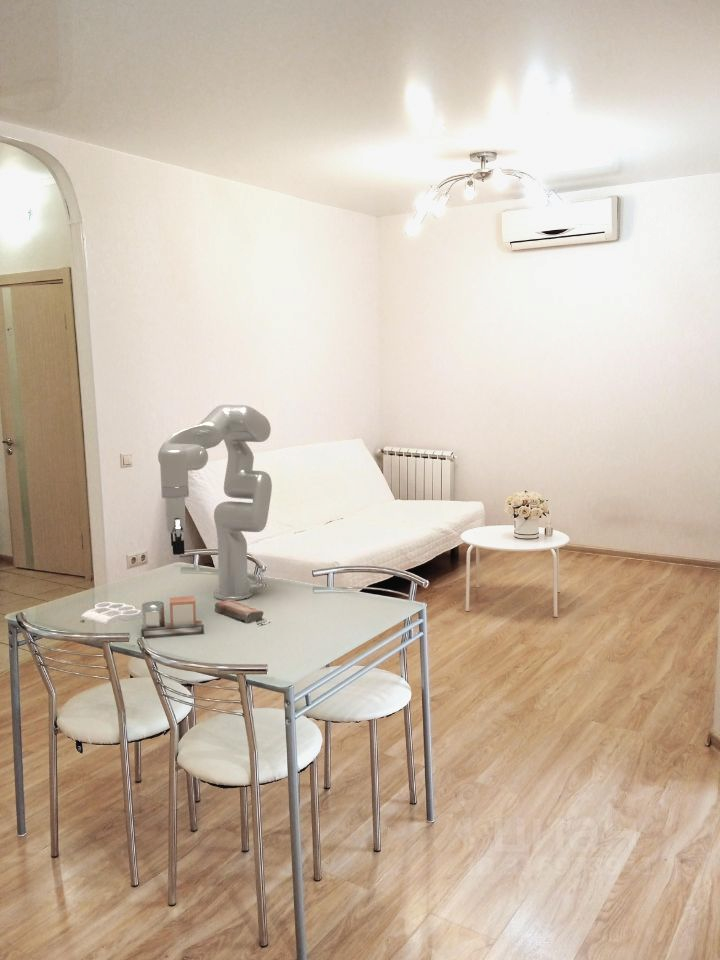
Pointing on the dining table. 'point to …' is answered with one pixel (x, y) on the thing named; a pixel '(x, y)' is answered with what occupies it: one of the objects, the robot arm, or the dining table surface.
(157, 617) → the tin
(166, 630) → the shelf board
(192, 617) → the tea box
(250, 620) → the packaged product
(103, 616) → the knuckle duster
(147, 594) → the dining table surface
